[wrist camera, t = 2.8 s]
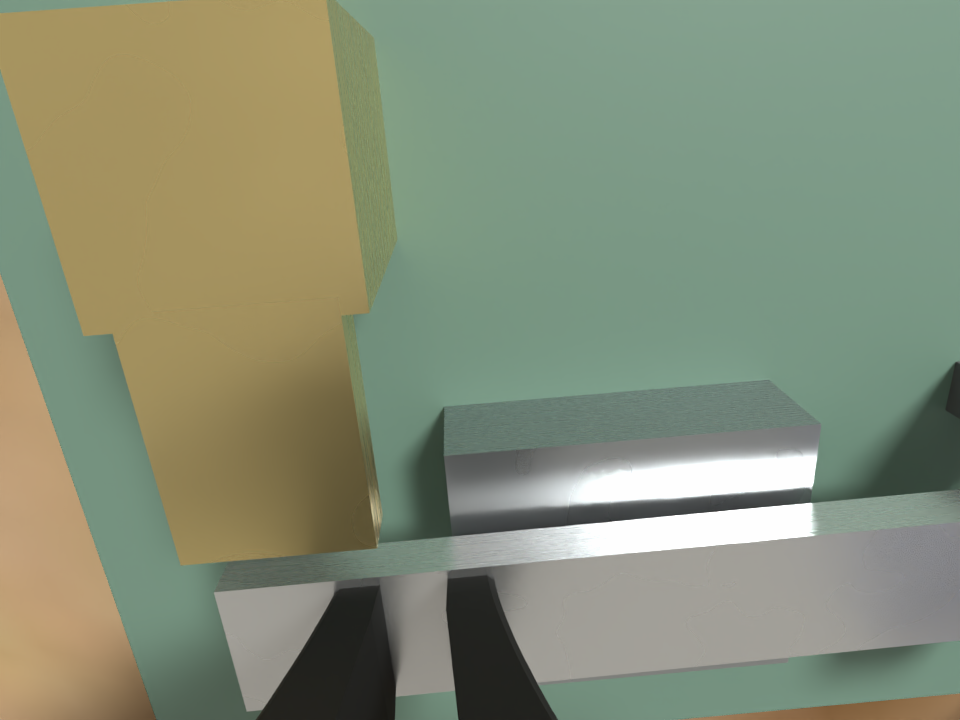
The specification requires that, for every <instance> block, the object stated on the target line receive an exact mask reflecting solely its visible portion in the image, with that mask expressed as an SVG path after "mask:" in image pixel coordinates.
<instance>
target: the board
mask: <svg viewBox="0 0 960 720" xmlns="http://www.w3.org/2000/svg"><path fill="white" fill-rule="evenodd" d="M167 1H181V0H0V13H11V12H25V11H40V10H54V9H68V8H82V7H96V6H110V5H125V4H139V3H153V2H167ZM335 1H336V2H338V3H339V4H340V5H341V6H342V7H343V8H344V9H345V10H346V11H347V12H348V13H349V14H350V15H351V16H352V17H353V18H354V19H355V20H356V21H357V22H358V23H359V24H360V25H361V26H362V27H363V28H365V29H366V30H367V31H368V32H369V33H370V34H371V35H372V36H373V37H374V43H375V51H376V60H377V68H378V77H379V85H380V94H381V103H382V111H383V120H384V128H385V137H386V146H387V154H388V163H389V171H390V180H391V189H392V197H393V206H394V214H395V223H396V232H397V242H396V245H395V247H394V250H393V253H392V255H391V258H390V261H389V263H388V266H387V268H386V271H385V274H384V276H383V279H382V282H381V284H380V287H379V290H378V292H377V295H376V297H375V300H374V303H373V305H372V308H371V311H370V313H366V314H353V318H354V325H355V332H356V339H357V345H358V352H359V359H360V366H361V372H362V379H363V386H364V393H365V399H366V406H367V413H368V420H369V426H370V433H371V440H372V447H373V453H374V460H375V467H376V474H377V480H378V487H379V494H380V501H381V507H382V514H383V516H382V522H381V528H380V535H379V541H378V543H388V542H399V541H409V540H420V539H431V538H442V537H452V530H451V520H450V510H449V500H448V491H447V481H446V471H445V461H444V407H445V406H457V405H469V404H481V403H493V402H505V401H517V400H529V399H541V398H553V397H565V396H577V395H589V394H601V393H613V392H625V391H637V390H649V389H661V388H674V387H686V386H698V385H710V384H722V383H734V382H746V381H758V380H770V381H771V382H772V383H773V384H775V385H776V386H777V387H778V388H779V389H781V390H782V391H783V392H784V393H785V394H786V395H788V396H789V397H790V398H791V399H792V400H794V401H795V402H796V403H797V404H798V405H800V406H801V407H802V408H803V409H804V410H805V411H807V412H808V413H809V414H810V415H811V416H813V417H814V418H815V419H816V420H817V421H818V422H820V423H821V432H820V439H819V446H818V453H817V460H816V467H815V474H814V481H813V489H812V496H811V503H818V502H829V501H840V500H850V499H861V498H872V497H883V496H893V495H904V494H915V493H926V492H936V491H947V490H958V489H960V0H335ZM0 274H1V277H2V280H3V283H4V285H5V288H6V291H7V294H8V297H9V300H10V303H11V305H12V308H13V311H14V314H15V317H16V320H17V323H18V325H19V328H20V331H21V334H22V337H23V340H24V343H25V345H26V348H27V351H28V354H29V357H30V360H31V363H32V365H33V368H34V371H35V374H36V377H37V380H38V383H39V385H40V388H41V391H42V394H43V397H44V400H45V403H46V406H47V408H48V411H49V414H50V417H51V420H52V423H53V426H54V428H55V431H56V434H57V437H58V440H59V443H60V446H61V448H62V451H63V454H64V457H65V460H66V463H67V466H68V468H69V471H70V474H71V477H72V480H73V483H74V486H75V488H76V491H77V494H78V497H79V500H80V503H81V506H82V508H83V511H84V514H85V517H86V520H87V523H88V526H89V528H90V531H91V534H92V537H93V540H94V543H95V546H96V548H97V551H98V554H99V557H100V560H101V563H102V566H103V568H104V571H105V574H106V577H107V580H108V583H109V586H110V589H111V591H112V594H113V597H114V600H115V603H116V606H117V609H118V611H119V614H120V617H121V620H122V623H123V626H124V629H125V631H126V634H127V637H128V640H129V643H130V646H131V649H132V651H133V654H134V657H135V660H136V663H137V666H138V669H139V671H140V674H141V677H142V680H143V683H144V686H145V689H146V691H147V694H148V697H149V700H150V703H151V706H152V709H153V711H154V714H155V717H156V720H256V718H257V717H258V716H259V714H260V713H261V711H262V710H258V711H248V712H247V711H246V707H245V703H244V700H243V696H242V693H241V689H240V685H239V682H238V678H237V674H236V671H235V667H234V664H233V660H232V656H231V653H230V649H229V646H228V642H227V638H226V635H225V631H224V628H223V624H222V620H221V617H220V613H219V609H218V606H217V602H216V599H215V595H214V591H215V589H216V587H217V585H218V582H219V580H220V578H221V576H222V574H223V572H224V570H225V568H226V565H227V563H228V562H216V563H205V564H193V565H182V566H181V565H180V561H179V558H178V555H177V551H176V548H175V544H174V541H173V538H172V534H171V531H170V528H169V524H168V521H167V517H166V514H165V511H164V507H163V504H162V500H161V497H160V494H159V490H158V487H157V483H156V480H155V477H154V473H153V470H152V466H151V463H150V460H149V456H148V453H147V450H146V446H145V443H144V439H143V436H142V433H141V429H140V426H139V422H138V419H137V416H136V412H135V409H134V405H133V402H132V399H131V395H130V392H129V388H128V385H127V382H126V378H125V375H124V372H123V368H122V365H121V361H120V358H119V355H118V351H117V348H116V344H115V341H114V338H113V334H104V335H91V336H83V333H82V330H81V326H80V323H79V320H78V317H77V314H76V310H75V307H74V304H73V301H72V298H71V294H70V291H69V288H68V285H67V282H66V278H65V275H64V272H63V269H62V266H61V262H60V259H59V256H58V253H57V250H56V246H55V243H54V240H53V237H52V234H51V230H50V227H49V224H48V221H47V218H46V214H45V211H44V208H43V205H42V202H41V198H40V195H39V192H38V189H37V186H36V182H35V179H34V176H33V173H32V170H31V166H30V163H29V160H28V157H27V154H26V150H25V147H24V144H23V141H22V138H21V134H20V131H19V128H18V125H17V122H16V118H15V115H14V112H13V109H12V106H11V102H10V99H9V96H8V93H7V90H6V86H5V83H4V80H3V77H2V74H1V70H0ZM539 687H540V689H541V691H542V693H543V695H544V696H545V698H546V700H547V702H548V703H549V705H550V707H551V709H552V711H553V712H554V714H555V715H556V717H557V719H558V720H678V719H689V718H699V717H710V716H721V715H732V714H742V713H753V712H764V711H775V710H786V709H796V708H807V707H818V706H829V705H839V704H850V703H861V702H872V701H883V700H893V699H904V698H915V697H926V696H936V695H947V694H958V693H960V641H950V642H940V643H930V644H920V645H910V646H900V647H889V648H879V649H869V650H859V651H849V652H839V653H829V654H819V655H809V656H799V657H789V659H788V663H778V664H767V665H756V666H745V667H734V668H723V669H712V670H701V671H690V672H679V673H668V674H657V675H646V676H635V677H625V678H614V679H603V680H592V681H581V682H570V683H559V684H548V685H539ZM395 720H458V712H457V703H456V695H455V691H448V692H438V693H428V694H418V695H408V696H398V697H396V705H395Z"/></svg>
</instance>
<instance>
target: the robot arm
mask: <svg viewBox="0 0 960 720" xmlns="http://www.w3.org/2000/svg"><path fill="white" fill-rule="evenodd" d="M446 614H447V623H448V632H449V641H450V650H451V659H452V668H453V677H454V686H455V695H456V703H457V712H458V720H558V719H557V717H556V715H555V714H554V712H553V711H552V709H551V707H550V705H549V703H548V702H547V700H546V698H545V696H544V695H543V693H542V691H541V689H540V687H539V685H538V684H537V682H536V680H535V678H534V676H533V674H532V672H531V670H530V668H529V666H528V664H527V662H526V660H525V658H524V656H523V655H522V652H521V650H520V648H519V646H518V644H517V642H516V640H515V637H514V635H513V633H512V630H511V628H510V626H509V623H508V621H507V619H506V616H505V613H504V611H503V608H502V605H501V602H500V599H499V596H498V592H497V589H496V585H495V580H493V579H492V578H491V577H489V576H488V575H481V576H471V577H461V578H450V579H447V598H446ZM395 705H396V684H395V678H394V671H393V665H392V659H391V652H390V646H389V640H388V633H387V627H386V620H385V614H384V608H383V601H382V595H381V589H380V585H375V586H364V587H354V588H342V589H339V590H338V591H337V592H336V593H335V594H334V596H333V597H332V599H331V601H330V603H329V605H328V606H327V608H326V610H325V612H324V613H323V615H322V617H321V619H320V620H319V622H318V624H317V626H316V627H315V629H314V631H313V632H312V634H311V636H310V637H309V639H308V641H307V642H306V644H305V645H304V647H303V649H302V650H301V652H300V654H299V655H298V657H297V658H296V660H295V662H294V663H293V665H292V666H291V668H290V669H289V671H288V672H287V674H286V675H285V677H284V678H283V680H282V681H281V683H280V684H279V686H278V687H277V689H276V691H275V692H274V694H273V695H272V697H271V698H270V700H269V701H268V703H267V704H266V706H265V707H264V709H263V710H262V711H261V713H260V714H259V716H258V717H257V718H256V720H395Z"/></svg>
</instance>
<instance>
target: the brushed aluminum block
mask: <svg viewBox="0 0 960 720" xmlns="http://www.w3.org/2000/svg"><path fill="white" fill-rule="evenodd" d="M820 432H821V423H820V422H818V421H817V420H816V419H815V418H814V417H813V416H811V415H810V414H809V413H808V412H807V411H805V410H804V409H803V408H802V407H801V406H800V405H798V404H797V403H796V402H795V401H794V400H792V399H791V398H790V397H789V396H788V395H786V394H785V393H784V392H783V391H782V390H781V389H779V388H778V387H777V386H776V385H775V384H773V383H772V382H771V381H770V380H758V381H746V382H734V383H722V384H710V385H698V386H686V387H674V388H661V389H649V390H637V391H625V392H613V393H601V394H589V395H577V396H565V397H553V398H541V399H529V400H517V401H505V402H493V403H481V404H469V405H457V406H445V407H444V461H445V471H446V481H447V491H448V500H449V510H450V520H451V530H452V537H453V536H463V535H474V534H485V533H496V532H506V531H517V530H528V529H539V528H549V527H560V526H571V525H582V524H592V523H603V522H614V521H625V520H635V519H646V518H657V517H668V516H678V515H689V514H700V513H711V512H721V511H732V510H743V509H754V508H764V507H775V506H786V505H797V504H807V503H811V496H812V489H813V481H814V474H815V467H816V460H817V453H818V446H819V439H820ZM788 659H789V658H779V659H769V660H759V661H749V662H739V663H729V664H719V665H709V666H699V667H689V668H679V669H669V670H659V671H649V672H639V673H629V674H619V675H609V676H599V677H589V678H579V679H569V680H559V681H549V682H539V683H537V684H538V685H548V684H559V683H570V682H581V681H592V680H603V679H614V678H625V677H635V676H646V675H657V674H668V673H679V672H690V671H701V670H712V669H723V668H734V667H745V666H756V665H767V664H778V663H788Z"/></svg>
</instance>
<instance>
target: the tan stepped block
mask: <svg viewBox="0 0 960 720" xmlns="http://www.w3.org/2000/svg"><path fill="white" fill-rule="evenodd" d="M0 70H1V74H2V77H3V80H4V83H5V86H6V90H7V93H8V96H9V99H10V102H11V106H12V109H13V112H14V115H15V118H16V122H17V125H18V128H19V131H20V134H21V138H22V141H23V144H24V147H25V150H26V154H27V157H28V160H29V163H30V166H31V170H32V173H33V176H34V179H35V182H36V186H37V189H38V192H39V195H40V198H41V202H42V205H43V208H44V211H45V214H46V218H47V221H48V224H49V227H50V230H51V234H52V237H53V240H54V243H55V246H56V250H57V253H58V256H59V259H60V262H61V266H62V269H63V272H64V275H65V278H66V282H67V285H68V288H69V291H70V294H71V298H72V301H73V304H74V307H75V310H76V314H77V317H78V320H79V323H80V326H81V330H82V333H83V336H91V335H104V334H113V338H114V341H115V344H116V348H117V351H118V355H119V358H120V361H121V365H122V368H123V372H124V375H125V378H126V382H127V385H128V388H129V392H130V395H131V399H132V402H133V405H134V409H135V412H136V416H137V419H138V422H139V426H140V429H141V433H142V436H143V439H144V443H145V446H146V450H147V453H148V456H149V460H150V463H151V466H152V470H153V473H154V477H155V480H156V483H157V487H158V490H159V494H160V497H161V500H162V504H163V507H164V511H165V514H166V517H167V521H168V524H169V528H170V531H171V534H172V538H173V541H174V544H175V548H176V551H177V555H178V558H179V561H180V565H181V566H182V565H193V564H205V563H216V562H228V561H239V560H251V559H262V558H274V557H285V556H297V555H308V554H320V553H331V552H343V551H354V550H366V549H377V547H378V541H379V535H380V528H381V522H382V516H383V514H382V507H381V501H380V494H379V487H378V480H377V474H376V467H375V460H374V453H373V447H372V440H371V433H370V426H369V420H368V413H367V406H366V399H365V393H364V386H363V379H362V372H361V366H360V359H359V352H358V345H357V339H356V332H355V325H354V318H353V314H366V313H370V311H371V308H372V305H373V303H374V300H375V297H376V295H377V292H378V290H379V287H380V284H381V282H382V279H383V276H384V274H385V271H386V268H387V266H388V263H389V261H390V258H391V255H392V253H393V250H394V247H395V245H396V242H397V232H396V223H395V214H394V206H393V197H392V189H391V180H390V171H389V163H388V154H387V146H386V137H385V128H384V120H383V111H382V103H381V94H380V85H379V77H378V68H377V60H376V51H375V43H374V37H373V36H372V35H371V34H370V33H369V32H368V31H367V30H366V29H365V28H363V27H362V26H361V25H360V24H359V23H358V22H357V21H356V20H355V19H354V18H353V17H352V16H351V15H350V14H349V13H348V12H347V11H346V10H345V9H344V8H343V7H342V6H341V5H340V4H339V3H338V2H336V1H335V0H181V1H167V2H153V3H139V4H125V5H110V6H96V7H82V8H68V9H54V10H40V11H25V12H11V13H0Z"/></svg>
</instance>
